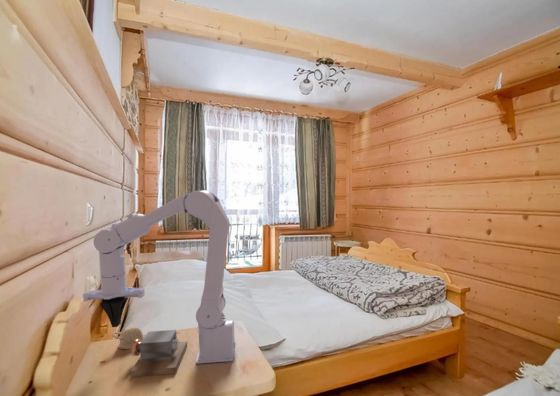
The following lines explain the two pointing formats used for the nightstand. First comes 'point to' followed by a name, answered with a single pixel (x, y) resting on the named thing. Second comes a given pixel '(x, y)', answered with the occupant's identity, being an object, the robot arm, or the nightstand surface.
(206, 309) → the robot arm
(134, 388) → the nightstand surface
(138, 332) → the cream ribbed curved piece
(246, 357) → the nightstand surface
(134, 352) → the shaft
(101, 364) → the nightstand surface
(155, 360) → the housing
